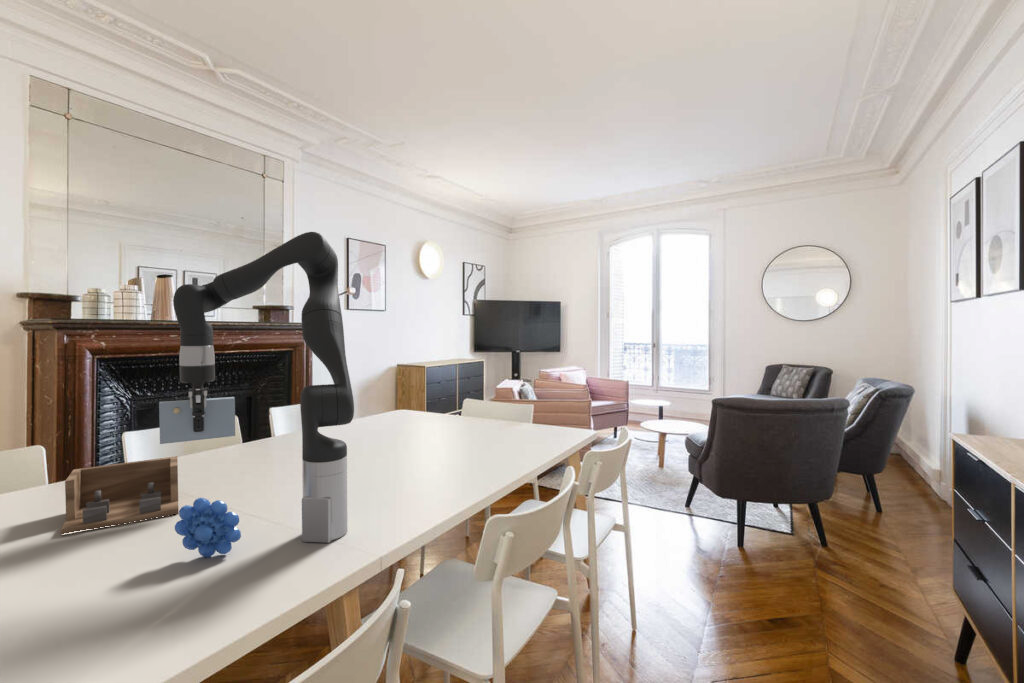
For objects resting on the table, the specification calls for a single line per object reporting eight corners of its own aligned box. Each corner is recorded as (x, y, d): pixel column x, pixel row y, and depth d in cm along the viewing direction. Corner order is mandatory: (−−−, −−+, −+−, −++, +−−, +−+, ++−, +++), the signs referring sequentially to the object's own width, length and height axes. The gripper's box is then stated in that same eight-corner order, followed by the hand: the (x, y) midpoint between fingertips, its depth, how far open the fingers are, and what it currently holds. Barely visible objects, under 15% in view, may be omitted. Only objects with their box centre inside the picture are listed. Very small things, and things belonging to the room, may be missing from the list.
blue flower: (165, 571, 89) (164, 508, 89) (180, 554, 96) (179, 495, 95) (234, 563, 92) (233, 502, 92) (244, 547, 98) (243, 490, 98)
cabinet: (178, 514, 116) (177, 471, 115) (61, 536, 104) (59, 488, 103) (178, 494, 130) (177, 456, 129) (74, 511, 117) (73, 469, 117)
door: (235, 436, 124) (235, 398, 124) (159, 444, 115) (158, 404, 115) (234, 433, 127) (234, 396, 127) (160, 441, 118) (159, 401, 118)
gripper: (215, 364, 117) (216, 433, 118) (213, 360, 129) (214, 423, 129) (178, 366, 113) (180, 437, 114) (180, 361, 125) (181, 426, 125)
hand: (198, 429), depth 122 cm, fingers closed on door, 3 cm apart
